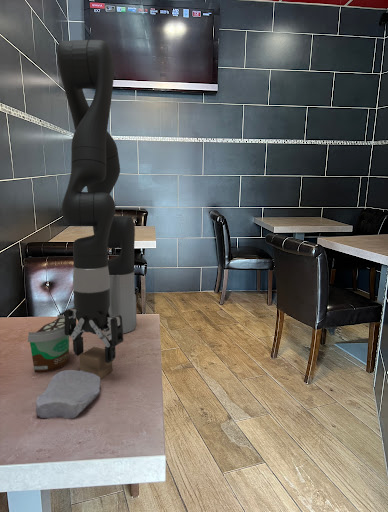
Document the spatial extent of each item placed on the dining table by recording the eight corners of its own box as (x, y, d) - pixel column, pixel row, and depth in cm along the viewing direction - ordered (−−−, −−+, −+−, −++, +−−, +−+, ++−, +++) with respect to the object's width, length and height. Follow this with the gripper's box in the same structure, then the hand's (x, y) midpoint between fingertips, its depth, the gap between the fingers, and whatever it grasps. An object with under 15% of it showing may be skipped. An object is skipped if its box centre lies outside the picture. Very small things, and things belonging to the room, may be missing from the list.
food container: (55, 378, 79) (52, 335, 77) (30, 375, 80) (27, 333, 79) (83, 354, 91) (81, 316, 89) (61, 351, 92) (58, 314, 91)
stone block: (103, 393, 78) (56, 383, 77) (106, 373, 76) (59, 363, 76) (84, 432, 66) (30, 420, 66) (88, 409, 65) (33, 397, 65)
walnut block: (95, 366, 85) (94, 346, 84) (112, 371, 83) (111, 350, 82) (80, 376, 81) (79, 355, 80) (98, 381, 79) (97, 360, 78)
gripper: (129, 286, 78) (130, 357, 81) (78, 279, 84) (80, 345, 87) (107, 295, 72) (109, 371, 74) (53, 286, 77) (57, 358, 80)
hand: (94, 357), depth 81 cm, fingers open, 8 cm apart
